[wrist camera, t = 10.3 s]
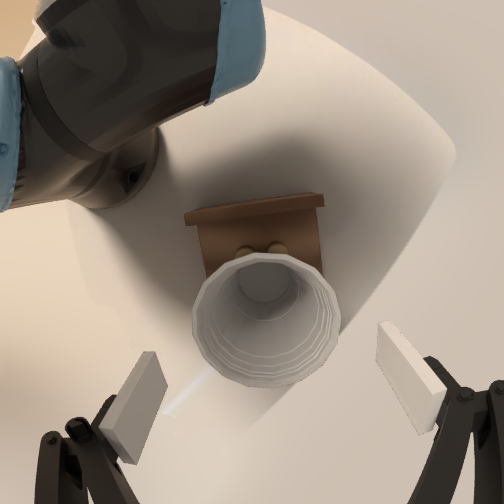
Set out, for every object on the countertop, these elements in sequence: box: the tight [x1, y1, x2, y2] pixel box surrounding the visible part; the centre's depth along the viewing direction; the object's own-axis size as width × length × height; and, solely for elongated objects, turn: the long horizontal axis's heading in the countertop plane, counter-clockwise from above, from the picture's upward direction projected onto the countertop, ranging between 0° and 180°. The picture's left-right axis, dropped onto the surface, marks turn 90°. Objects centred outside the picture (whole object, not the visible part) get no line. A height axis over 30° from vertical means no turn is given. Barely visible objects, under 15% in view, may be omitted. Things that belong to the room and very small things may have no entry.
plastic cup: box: [192, 253, 341, 388], centre depth 25 cm, size 11×11×12 cm
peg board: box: [184, 193, 325, 279], centre depth 33 cm, size 16×14×6 cm
